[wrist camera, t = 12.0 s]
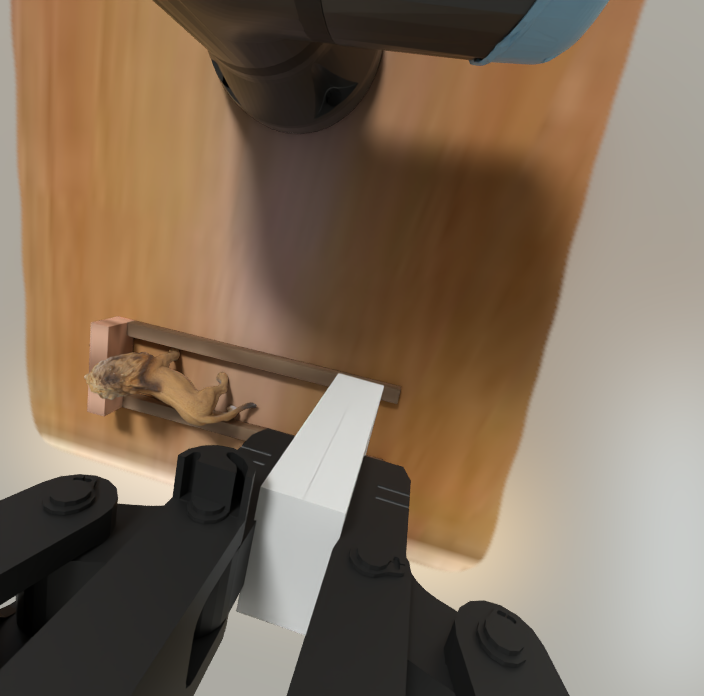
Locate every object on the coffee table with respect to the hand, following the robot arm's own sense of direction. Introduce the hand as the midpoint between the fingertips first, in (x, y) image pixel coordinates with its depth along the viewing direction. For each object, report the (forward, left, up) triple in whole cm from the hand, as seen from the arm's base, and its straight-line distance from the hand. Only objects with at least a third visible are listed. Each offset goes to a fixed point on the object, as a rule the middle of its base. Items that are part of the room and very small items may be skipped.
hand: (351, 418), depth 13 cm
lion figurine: (+13, -20, -29) cm, 38 cm away
